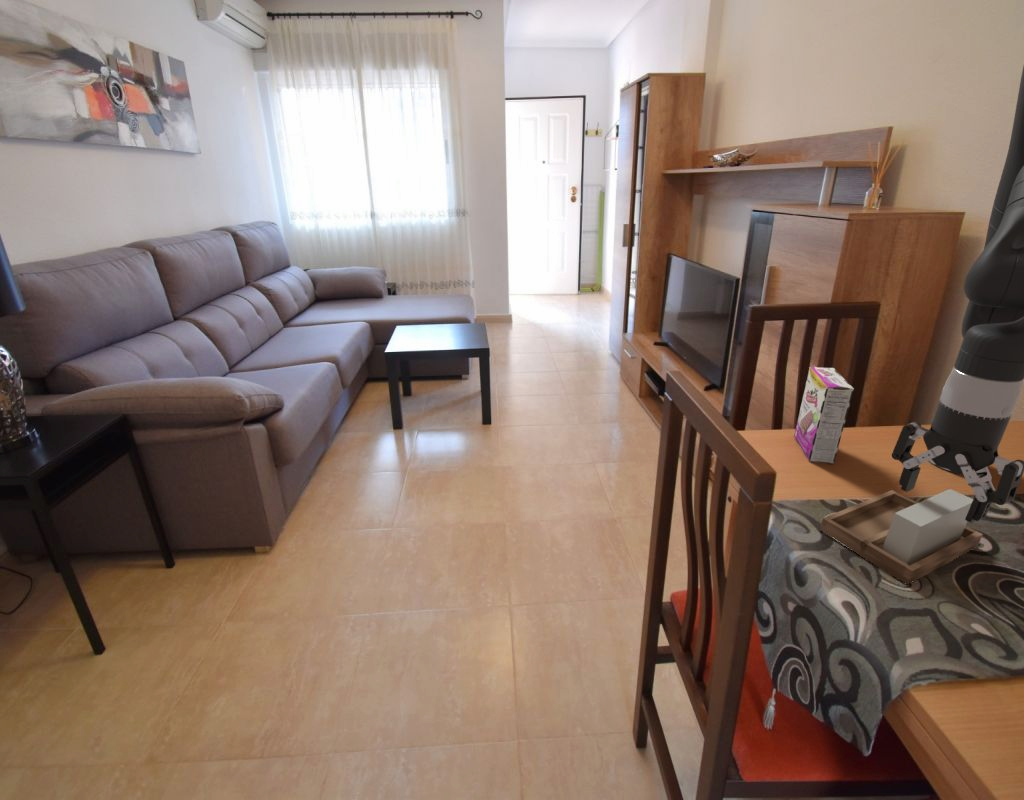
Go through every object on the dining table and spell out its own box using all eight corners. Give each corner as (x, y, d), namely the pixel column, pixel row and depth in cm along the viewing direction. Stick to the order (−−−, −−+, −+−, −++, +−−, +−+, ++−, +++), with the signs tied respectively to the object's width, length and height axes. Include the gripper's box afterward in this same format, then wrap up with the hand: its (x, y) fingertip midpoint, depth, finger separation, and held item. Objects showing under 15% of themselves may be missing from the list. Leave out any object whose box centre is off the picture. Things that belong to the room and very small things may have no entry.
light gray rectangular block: (935, 525, 84) (949, 488, 81) (960, 538, 81) (976, 500, 79) (881, 551, 79) (894, 513, 76) (905, 566, 76) (920, 526, 73)
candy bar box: (791, 436, 115) (808, 365, 108) (816, 438, 114) (835, 367, 107) (807, 462, 105) (826, 386, 98) (834, 464, 104) (856, 388, 97)
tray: (888, 502, 92) (892, 490, 91) (977, 547, 81) (983, 534, 80) (819, 530, 85) (822, 518, 84) (906, 585, 74) (912, 571, 73)
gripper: (1058, 418, 66) (1010, 523, 73) (933, 380, 78) (901, 474, 84) (1027, 431, 63) (980, 540, 70) (902, 390, 75) (872, 486, 81)
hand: (937, 504), depth 77 cm, fingers open, 8 cm apart
